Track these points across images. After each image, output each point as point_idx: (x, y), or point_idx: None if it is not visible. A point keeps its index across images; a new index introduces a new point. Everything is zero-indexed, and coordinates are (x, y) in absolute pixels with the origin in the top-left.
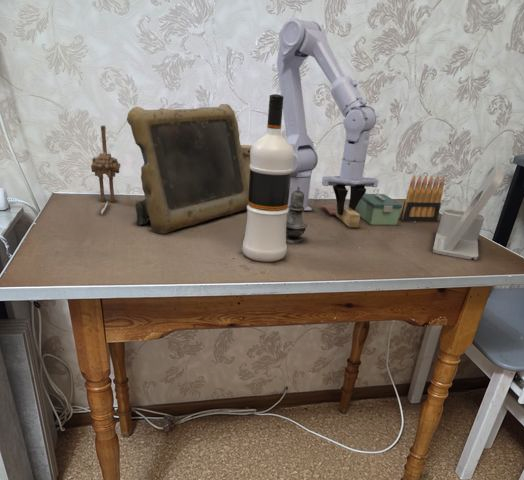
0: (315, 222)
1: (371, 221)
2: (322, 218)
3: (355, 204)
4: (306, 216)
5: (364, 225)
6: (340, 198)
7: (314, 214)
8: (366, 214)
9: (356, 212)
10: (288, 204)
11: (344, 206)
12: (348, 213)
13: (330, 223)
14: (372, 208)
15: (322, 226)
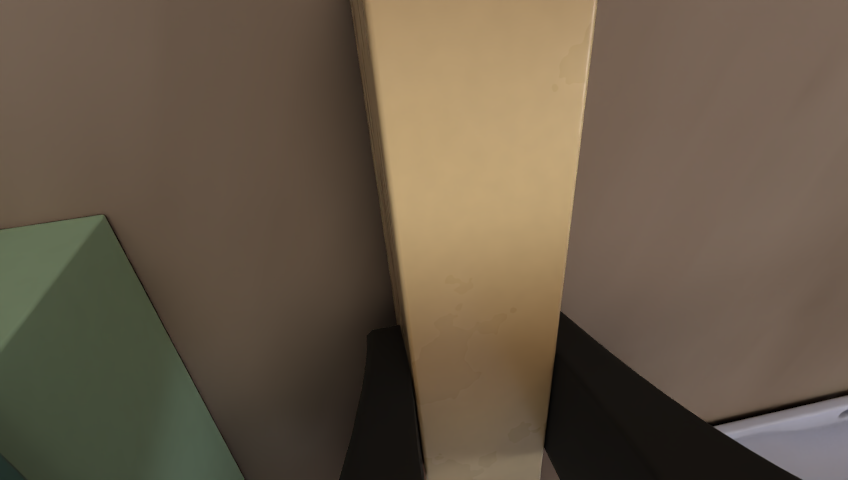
0: (795, 164)
1: (82, 239)
2: (644, 305)
3: (386, 454)
4: (755, 322)
5: (207, 159)
6: (788, 474)
7: (654, 385)
8: (157, 410)
9: (405, 193)
10: (834, 451)
11: (496, 446)
12: (573, 145)
13: (650, 160)
14: (5, 429)
15: (822, 12)
